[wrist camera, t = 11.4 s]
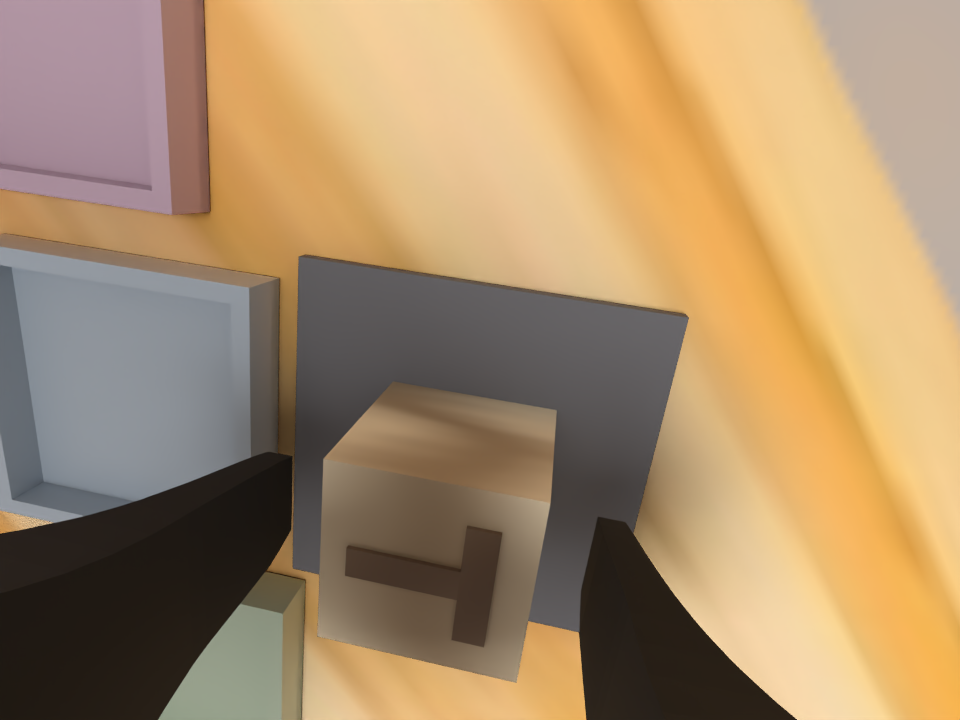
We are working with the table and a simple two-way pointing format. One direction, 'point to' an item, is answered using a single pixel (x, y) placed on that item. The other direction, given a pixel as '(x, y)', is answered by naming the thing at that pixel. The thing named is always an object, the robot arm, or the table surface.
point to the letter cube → (436, 528)
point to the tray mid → (127, 375)
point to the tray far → (250, 660)
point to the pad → (488, 390)
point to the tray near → (105, 102)
